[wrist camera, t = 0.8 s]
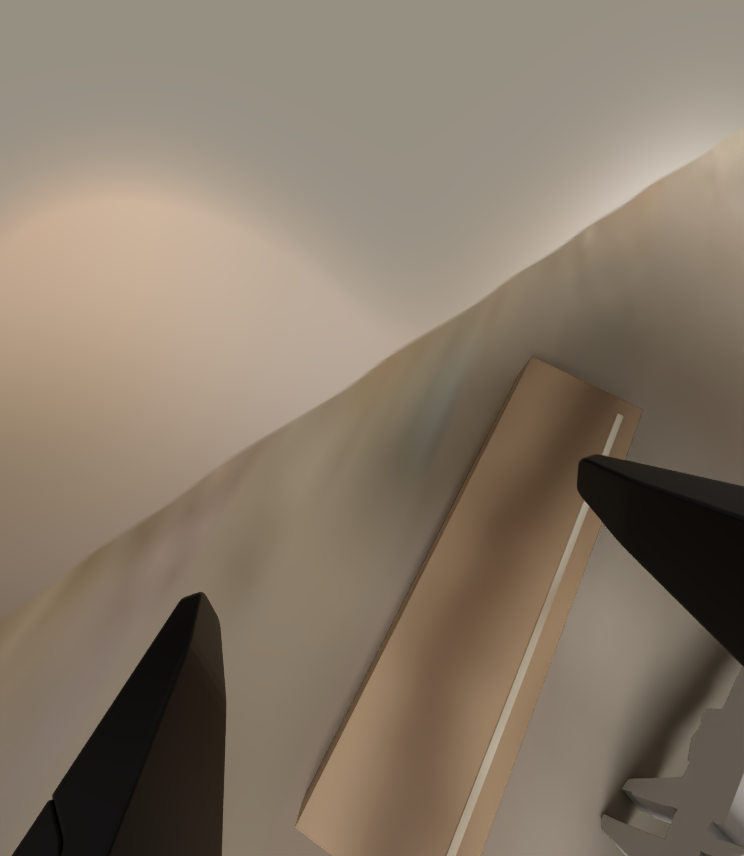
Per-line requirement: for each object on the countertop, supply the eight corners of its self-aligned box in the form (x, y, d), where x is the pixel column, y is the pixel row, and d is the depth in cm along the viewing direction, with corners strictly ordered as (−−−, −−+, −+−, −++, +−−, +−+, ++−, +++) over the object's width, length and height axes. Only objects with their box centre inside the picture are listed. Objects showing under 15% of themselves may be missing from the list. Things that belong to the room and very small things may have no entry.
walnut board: (621, 423, 24) (644, 408, 22) (438, 903, 16) (448, 947, 14) (519, 373, 25) (532, 355, 23) (302, 801, 17) (294, 828, 15)
